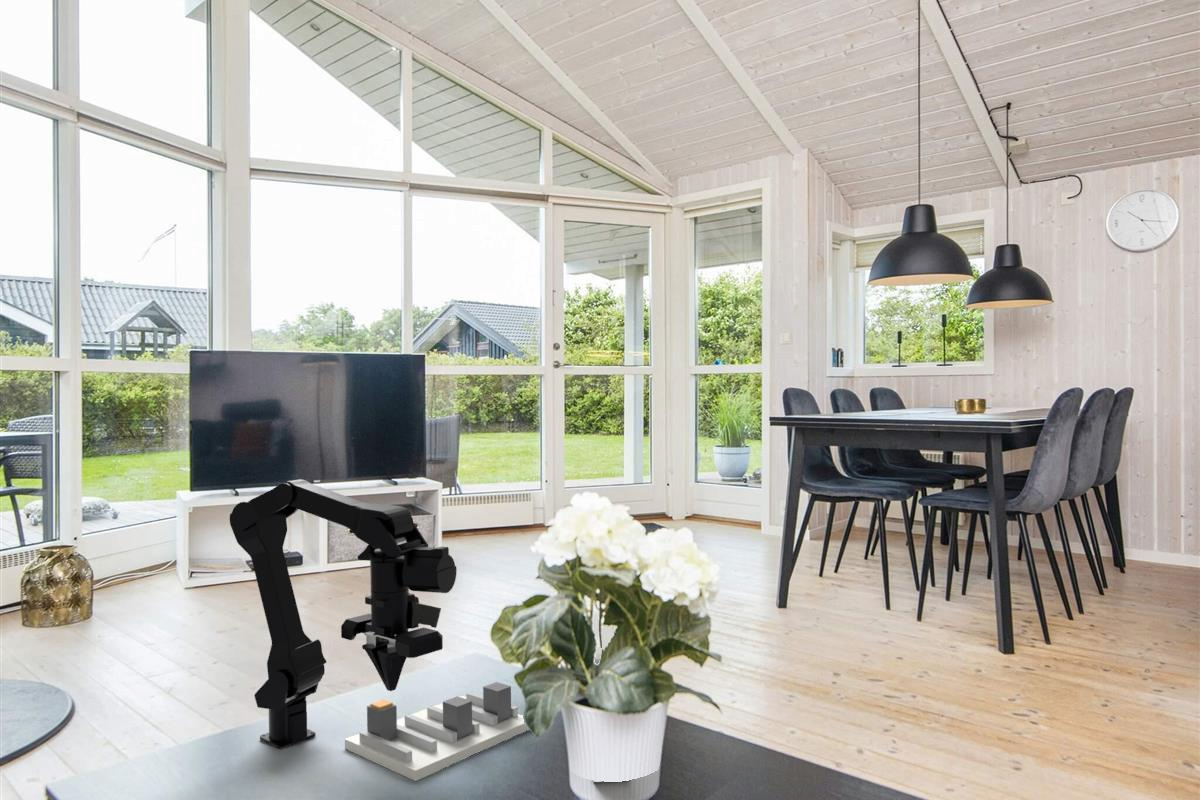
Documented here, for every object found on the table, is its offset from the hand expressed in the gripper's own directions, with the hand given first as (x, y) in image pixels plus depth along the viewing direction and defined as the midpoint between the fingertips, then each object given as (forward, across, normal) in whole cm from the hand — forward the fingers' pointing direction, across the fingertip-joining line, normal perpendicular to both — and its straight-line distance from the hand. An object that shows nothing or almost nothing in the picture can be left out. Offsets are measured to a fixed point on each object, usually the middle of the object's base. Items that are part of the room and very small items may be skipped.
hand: (391, 690), depth 125 cm
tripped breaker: (+8, +3, 0) cm, 8 cm away
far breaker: (+8, -5, -17) cm, 20 cm away
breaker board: (+10, -1, -8) cm, 13 cm away
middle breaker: (+8, -5, -8) cm, 13 cm away
